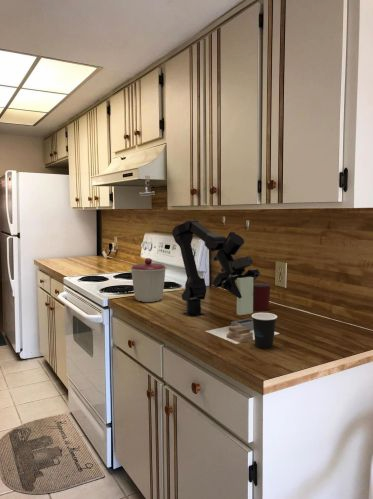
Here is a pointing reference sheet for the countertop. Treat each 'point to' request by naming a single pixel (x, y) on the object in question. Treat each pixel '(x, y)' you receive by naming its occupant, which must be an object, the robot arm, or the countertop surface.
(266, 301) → the mug
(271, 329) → the dixie cup
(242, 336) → the offcut stack
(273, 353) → the countertop surface
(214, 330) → the white flat slab
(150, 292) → the canister
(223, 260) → the robot arm
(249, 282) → the green board
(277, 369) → the countertop surface
